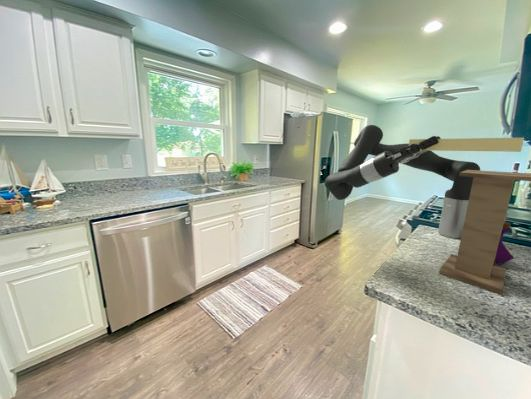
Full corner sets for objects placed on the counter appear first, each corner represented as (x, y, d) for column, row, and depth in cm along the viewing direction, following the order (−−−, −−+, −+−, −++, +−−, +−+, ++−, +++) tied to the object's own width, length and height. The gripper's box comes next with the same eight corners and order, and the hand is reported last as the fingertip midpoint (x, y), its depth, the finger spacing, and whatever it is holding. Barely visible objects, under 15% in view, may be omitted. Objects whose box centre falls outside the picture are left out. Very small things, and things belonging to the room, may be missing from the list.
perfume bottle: (512, 267, 76) (526, 215, 72) (486, 265, 78) (498, 214, 74) (495, 257, 83) (507, 209, 79) (471, 255, 85) (482, 208, 81)
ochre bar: (411, 150, 68) (413, 139, 67) (520, 151, 52) (524, 137, 51) (408, 150, 66) (409, 139, 65) (520, 151, 50) (523, 137, 49)
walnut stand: (450, 257, 83) (468, 169, 76) (505, 273, 73) (532, 173, 65) (438, 273, 72) (458, 173, 65) (501, 294, 62) (532, 177, 55)
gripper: (363, 157, 70) (424, 125, 58) (383, 156, 79) (439, 128, 66) (373, 179, 69) (438, 151, 56) (392, 176, 78) (451, 151, 65)
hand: (438, 139), depth 61 cm, fingers closed on ochre bar, 3 cm apart
